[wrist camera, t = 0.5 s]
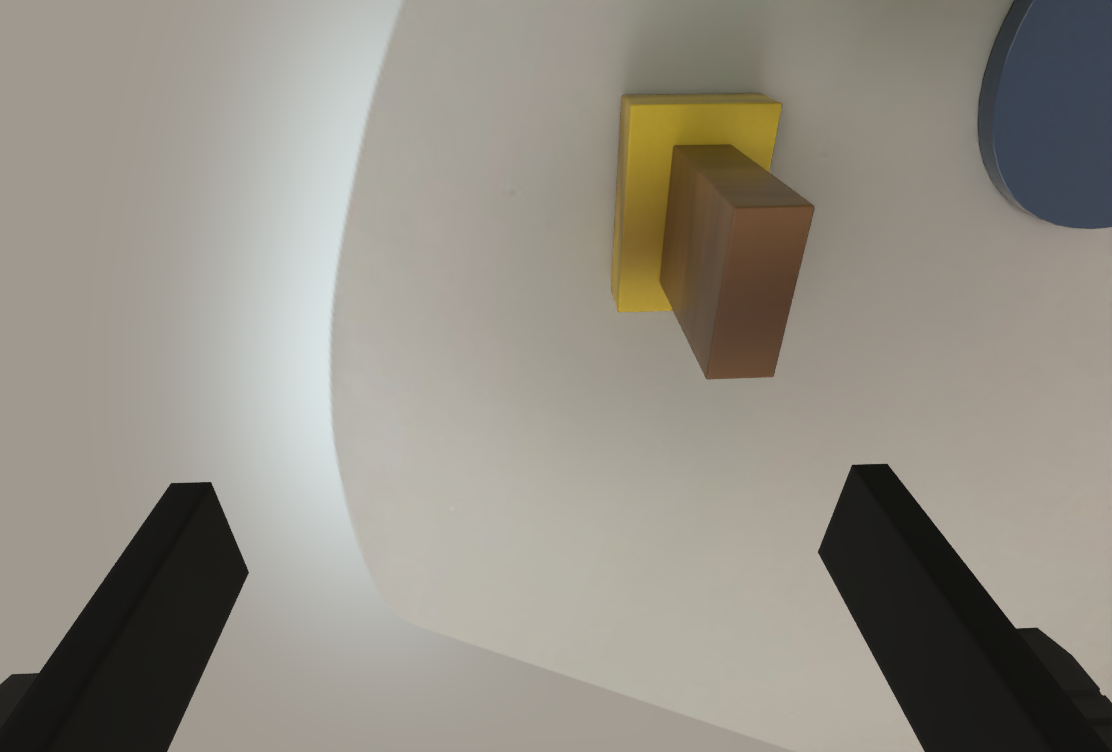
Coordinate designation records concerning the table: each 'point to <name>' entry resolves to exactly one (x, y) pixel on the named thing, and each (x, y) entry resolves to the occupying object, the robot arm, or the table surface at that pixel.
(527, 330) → the table surface
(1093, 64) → the plate
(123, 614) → the robot arm
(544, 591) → the table surface
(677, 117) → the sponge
